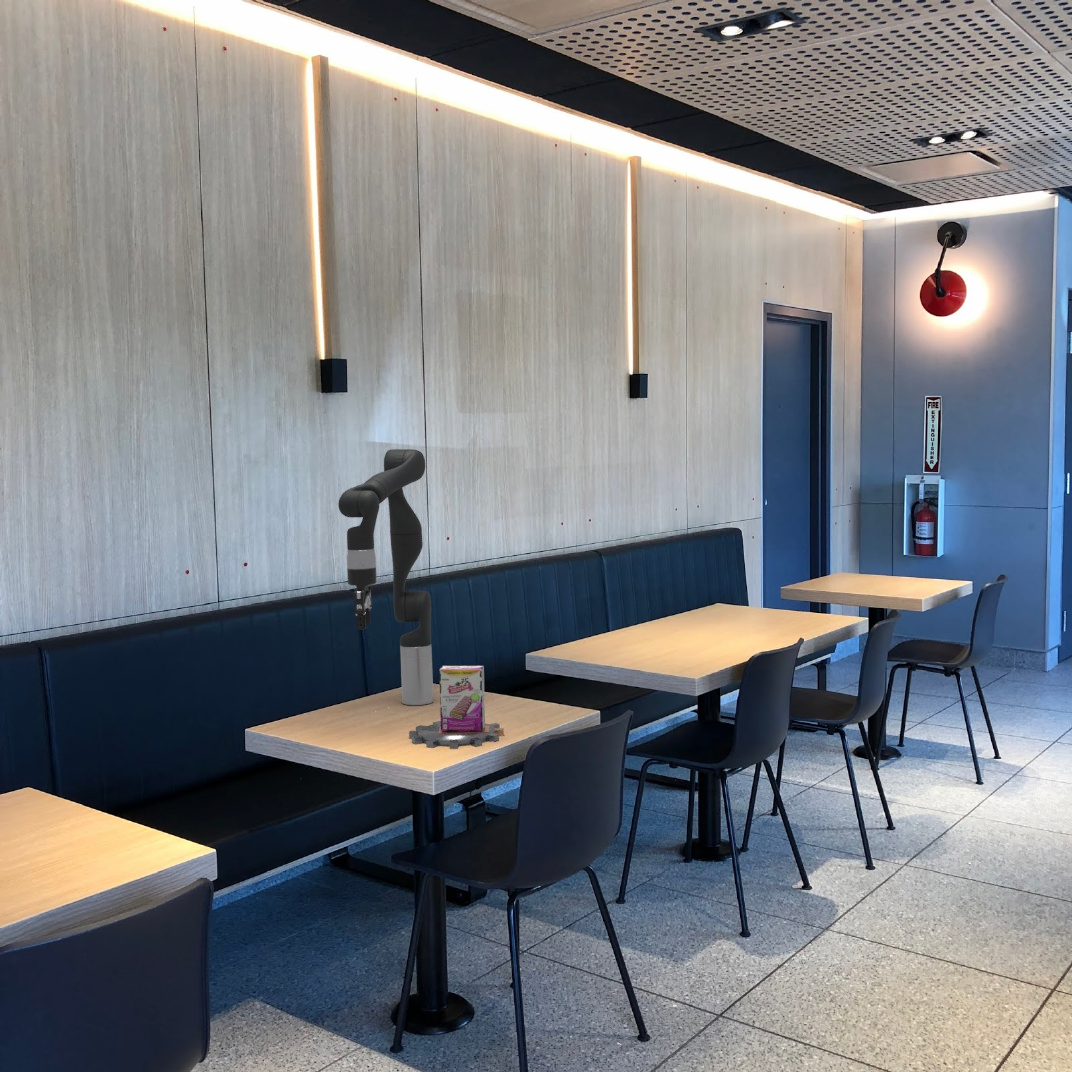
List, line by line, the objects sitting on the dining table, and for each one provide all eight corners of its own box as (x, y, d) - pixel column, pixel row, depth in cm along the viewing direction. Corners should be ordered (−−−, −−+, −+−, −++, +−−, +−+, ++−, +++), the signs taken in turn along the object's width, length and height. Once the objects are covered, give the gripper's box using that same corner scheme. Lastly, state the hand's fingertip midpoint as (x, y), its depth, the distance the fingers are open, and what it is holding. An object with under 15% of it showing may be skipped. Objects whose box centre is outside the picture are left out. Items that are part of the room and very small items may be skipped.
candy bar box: (440, 732, 287) (438, 669, 285) (443, 727, 292) (441, 665, 290) (483, 731, 286) (481, 668, 285) (485, 727, 291) (484, 664, 290)
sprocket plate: (414, 726, 301) (413, 720, 301) (504, 723, 301) (504, 717, 301) (404, 749, 277) (404, 743, 276) (502, 746, 277) (502, 740, 277)
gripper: (372, 568, 286) (374, 631, 288) (379, 563, 301) (381, 622, 302) (342, 569, 286) (345, 632, 288) (351, 564, 301) (353, 623, 302)
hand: (363, 627), depth 295 cm, fingers open, 8 cm apart
